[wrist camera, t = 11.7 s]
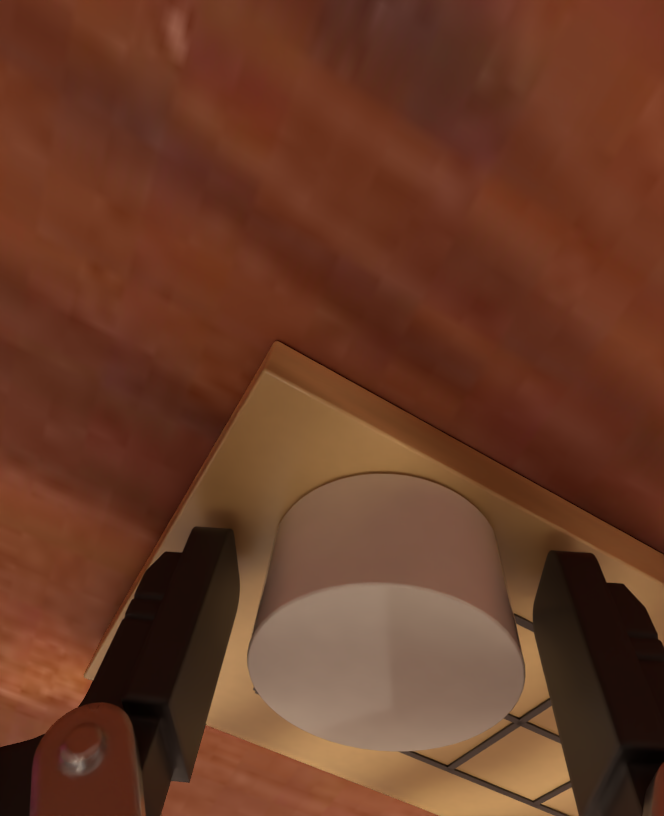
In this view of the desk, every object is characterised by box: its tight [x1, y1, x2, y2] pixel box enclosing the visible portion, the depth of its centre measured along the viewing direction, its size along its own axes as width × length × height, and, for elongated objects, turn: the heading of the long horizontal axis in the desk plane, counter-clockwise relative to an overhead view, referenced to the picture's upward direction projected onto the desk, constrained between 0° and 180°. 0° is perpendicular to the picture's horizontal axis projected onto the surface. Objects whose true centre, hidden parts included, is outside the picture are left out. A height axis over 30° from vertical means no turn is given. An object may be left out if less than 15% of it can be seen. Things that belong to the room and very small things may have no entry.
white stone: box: [247, 473, 526, 752], centre depth 10 cm, size 5×5×3 cm
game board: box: [84, 341, 664, 816], centre depth 15 cm, size 20×11×1 cm, turn 60°
